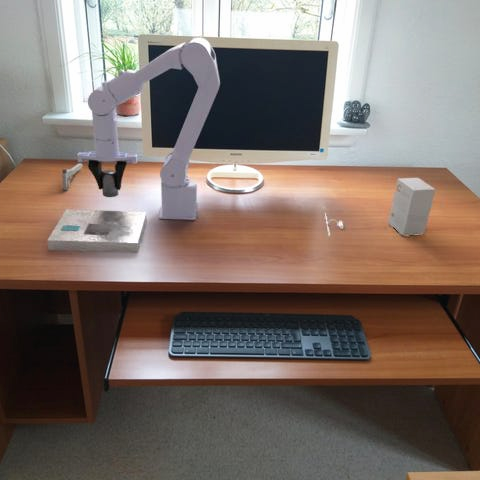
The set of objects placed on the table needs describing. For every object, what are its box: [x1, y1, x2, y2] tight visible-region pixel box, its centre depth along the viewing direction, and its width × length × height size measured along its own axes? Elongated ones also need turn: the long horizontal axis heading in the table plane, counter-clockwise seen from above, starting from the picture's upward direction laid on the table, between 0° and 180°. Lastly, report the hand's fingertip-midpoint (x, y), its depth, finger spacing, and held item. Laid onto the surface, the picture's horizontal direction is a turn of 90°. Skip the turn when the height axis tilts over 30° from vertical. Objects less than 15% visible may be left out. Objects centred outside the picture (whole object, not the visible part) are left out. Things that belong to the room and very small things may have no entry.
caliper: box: [61, 163, 84, 191], centre depth 150 cm, size 20×1×6 cm, turn 3°
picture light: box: [324, 213, 344, 238], centre depth 132 cm, size 14×4×2 cm, turn 176°
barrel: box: [101, 169, 119, 198], centre depth 130 cm, size 4×4×6 cm
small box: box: [387, 177, 436, 237], centre depth 130 cm, size 8×6×13 cm
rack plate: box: [46, 208, 148, 253], centre depth 121 cm, size 20×16×3 cm
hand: (110, 188), depth 130 cm, fingers closed on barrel, 4 cm apart
